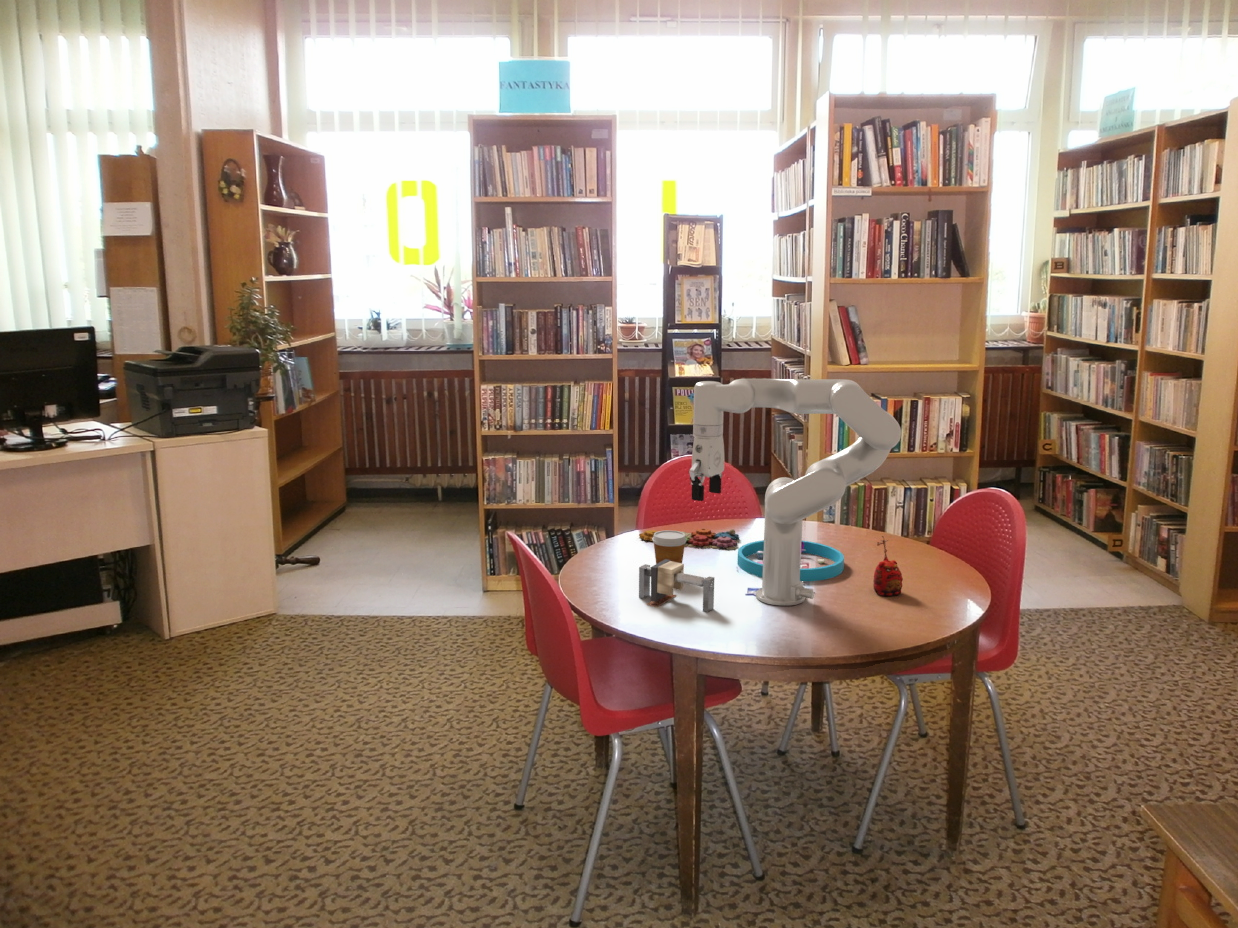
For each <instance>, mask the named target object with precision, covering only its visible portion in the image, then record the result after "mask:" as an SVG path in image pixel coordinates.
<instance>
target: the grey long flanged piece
mask: <svg viewBox="0 0 1238 928" xmlns="http://www.w3.org/2000/svg"><path fill="white" fill-rule="evenodd" d="M651 567H652V566H651V565H649V564H645V563H644V564H643V565H641V566H639V568H638V598H639V599H646V598H648V597H651ZM674 581H675V582H680V583H683V584H687V585H689V586H690V585H691V586H696V587H702V612H705V613H709V612H712V610H714V608H715V607H714V606H715V605H714V603H715V602H714V601H715V577H714V576H707V577H704V576H700V575H693V574H688V573H685V572H684V573H679V572H678V573H676V574H674ZM676 597H677V594H673V595H667V596H665V597H663V598H662V599H660V600H658V601H657V602H654V601H650V602H648V603H647V604H646V605H647V606H651V607H656V608H658V607H660V606H662V605H663V604H665V603H667V602H668V601H670V600H671V599H674V598H676Z"/></svg>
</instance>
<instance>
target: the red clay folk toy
mask: <svg viewBox="0 0 1238 928" xmlns="http://www.w3.org/2000/svg"><path fill="white" fill-rule="evenodd" d="M881 537H882V538H883V539H881V540H880V541H881V542H879V541H877V544H876V546H878V547H879V546H880V545H883V549H884V553H883V554H884V558H883V561H879V562H878V565H877V566H876V567H875V570H874V573H873V590H874V592H875V593H876V594H878V595H879V596H880V597H881V596H882V597H883V596H884V597H885V596H886V597H890V596H891V597H892V596H900V595H901V594H902V589H903V579H904V578H903V576H902V575H903V574H902V572H901V570H900V568H899V567H898V562H897V561H896V560H890V559H889V558H888V554H887V552H888V550H887V549H886V547H887V546H886V542H888V541H889V539H887V540H885V537H884V535H882V536H881Z"/></svg>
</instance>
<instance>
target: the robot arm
mask: <svg viewBox="0 0 1238 928" xmlns="http://www.w3.org/2000/svg"><path fill="white" fill-rule="evenodd" d="M751 408H768V409H769V408H770V409H777V410H781V411H785V412H788V413H791V414H797V415H798V414H799V415H801V414H805V415H806V414H811V415H816V414H817V415H819V414H822V415H823V414H825V415H831V414H832V415H836V416H838V417H839V418H840V420H841V421H842V422H843V423H845V424H846V425H847V427H849V428H850V429H851V430H852V431H853V432H854V433H856V435H858V436H859V437H858V439H856V441H855V442H853V443H852V444H851V445H849V446H847V447H846V448H844V449H842V450H840V451H838V452H836V453H834V454H831V455H830V456H827V457H825V458H823V459H821V460H818V461H815V462H814V463H812V464H811V465H810V466H808V468H807V469H806V471H805V474H804V476H801V477H799V478H797V479H795V480H794V479H793V478H791V477H785V476H784V477H782V476H781V477H778V478H776V479H773V480H772V481H771V482H770V483H769V485H768V486H767V488H766V491H765V495H764V532H763V536H764V537H763V540H764V552H763V559H762V564H763V577H762V579H761V580H762V584H761V585H762V587H761V588H759V589H757V590H756V591H755V597H756V599H757V600H758V601H760V602H761V603H765V604H768V605H772V606H782V607H783V606H785V607H786V606H787V607H788V606H794V605H795V606H796V605H799V604H802V603H804V602H805V601H806V599H811V600H813V599H814V598H815V592H814V589H813V588H809V587H808V588H807V587H805V586H804V582H802V581H800V568H801V562H802V561H801V560H802V553H801V542H802V541H803V519H807V518H809V517H811V516H813V515H815V514H817V513H819V512H821V511H823V510H826V509H828V508H829V507H831V506H833V505H835V504H836V503H837V502H839V501H840V500H841V499H842V497H844V494H845V492H846V488H847V487H849V486H850V485H852V484H855V483H856V482H858V481H859V480H861V479H864V478H865V477H867V476H869V475H871V474H873V473H874V472H875V471H876V470H877V469H878V468H880V467H881V466H882V465H883V464H884V462H885V461H886V460H887V458H888V456H889V454H890V452H891V450H892V449H893V448H894V447H896V446H897V444H899V441H900V440H901V436H902V430H901V429H902V428H901V426H900V424H899V422H898V421H897V420H896V418H895V417H894V416H893V415H892V414H891V413H889V412H888V411H886V410H885V409H884V408H882V407H881V406H880V405H879V404H878V403H877V402H876V401H875V400H874V399H872V398H871V396H870V395H869V394H868V393H866V391H865V390H864V389H863V388H862V387H861V386H860V385H859V383H857V382H856V381H854V380H851V379H839V378H838V379H833V378H832V379H831V378H829V379H827V378H824V379H820V378H819V379H807V378H806V379H800V378H798V379H796V378H795V379H793V378H792V379H791V378H786V379H785V378H783V379H782V378H781V379H780V378H739V379H738V378H737V379H734V380H732V381H731V382H730V383H728V384H722V382H719V381H714V380H703V381H699V382H696V383H695V385H694V388H693V424H692V425H693V427H692V428H693V429H692V436H693V437H694V438H693V445H692V454H691V467H690V469H689V471H688V473H689V476H690V477H689V480H690V485H691V500H692V501H697V502H698V501H699V502H704V500H705V499H704V498H705V485H703V484H704V482H705V478H706V477H707V478H709V480H708V481H709V483H708V485H709V486H708V492H709V493H711V494H718V495H719V494H721V493H722V478H723V472H724V471H725V443H724V435H723V434H724V412H727V413H728V412H729V413H732V414H733V413H734V414H743V413H747V412H748V411H750V410H751Z"/></svg>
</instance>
